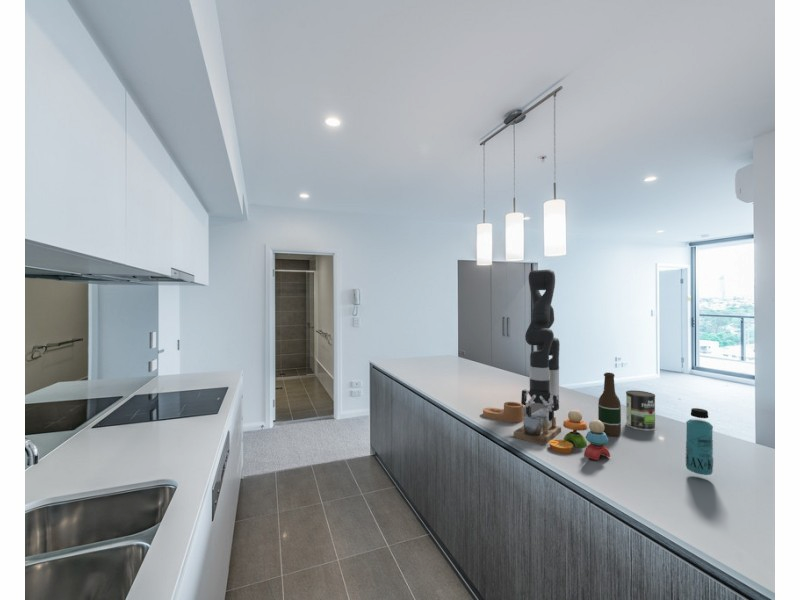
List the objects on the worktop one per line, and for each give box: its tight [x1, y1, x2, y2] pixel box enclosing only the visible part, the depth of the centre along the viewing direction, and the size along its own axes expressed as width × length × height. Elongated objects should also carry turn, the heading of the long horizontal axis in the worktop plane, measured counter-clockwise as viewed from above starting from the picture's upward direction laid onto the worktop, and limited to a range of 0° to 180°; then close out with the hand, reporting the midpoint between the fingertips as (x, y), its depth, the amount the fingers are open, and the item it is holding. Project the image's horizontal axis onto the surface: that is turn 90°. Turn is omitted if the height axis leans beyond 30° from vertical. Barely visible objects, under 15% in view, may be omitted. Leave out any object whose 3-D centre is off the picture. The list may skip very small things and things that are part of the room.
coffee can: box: [625, 389, 656, 432], centre depth 153 cm, size 10×10×14 cm
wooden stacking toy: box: [548, 409, 611, 461], centre depth 128 cm, size 18×17×12 cm
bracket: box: [482, 401, 524, 423], centre depth 165 cm, size 18×8×7 cm, turn 57°
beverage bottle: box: [684, 407, 714, 476], centre depth 110 cm, size 6×7×20 cm
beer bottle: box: [597, 372, 622, 437], centre depth 145 cm, size 8×8×24 cm
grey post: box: [523, 407, 552, 436], centre depth 144 cm, size 18×6×6 cm, turn 139°
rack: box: [513, 416, 562, 446], centre depth 144 cm, size 18×12×6 cm, turn 138°
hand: (539, 418), depth 146 cm, fingers open, 8 cm apart
